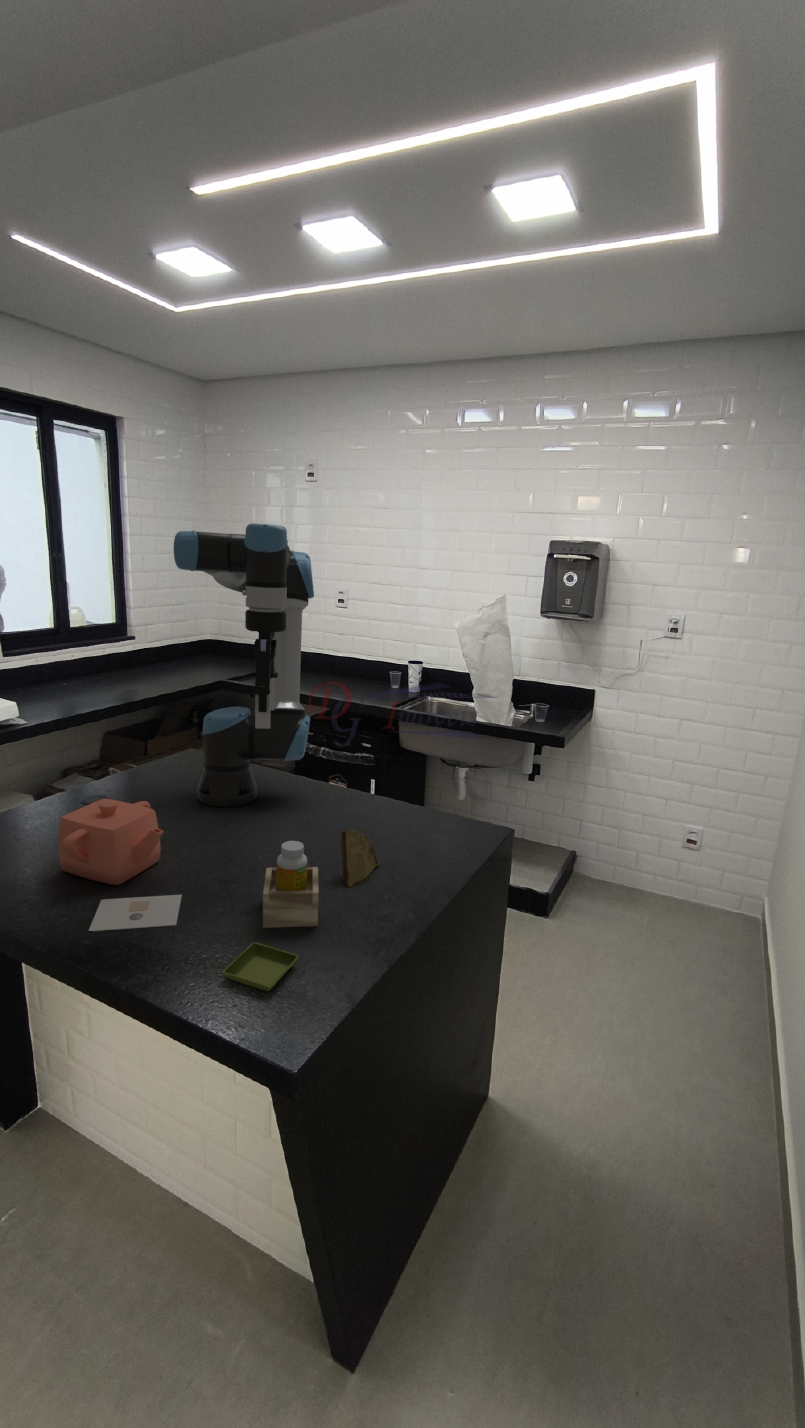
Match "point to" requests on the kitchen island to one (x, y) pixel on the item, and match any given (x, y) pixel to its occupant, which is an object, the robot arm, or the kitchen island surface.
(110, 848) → the teapot
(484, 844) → the kitchen island surface
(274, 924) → the wooden crate
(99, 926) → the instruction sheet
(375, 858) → the rock
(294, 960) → the green tray
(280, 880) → the supplement bottle
